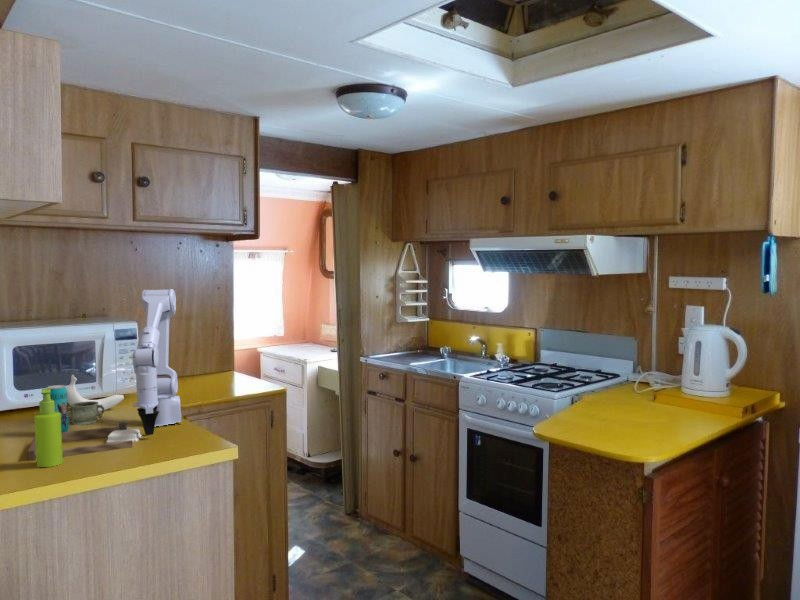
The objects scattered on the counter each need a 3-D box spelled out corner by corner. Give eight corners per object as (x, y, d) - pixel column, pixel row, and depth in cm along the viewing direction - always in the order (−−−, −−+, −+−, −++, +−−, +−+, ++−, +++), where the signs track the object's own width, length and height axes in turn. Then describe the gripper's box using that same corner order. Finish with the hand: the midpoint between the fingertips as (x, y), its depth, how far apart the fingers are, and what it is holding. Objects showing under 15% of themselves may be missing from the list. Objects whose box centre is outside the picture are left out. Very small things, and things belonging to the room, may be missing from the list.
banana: (124, 410, 225) (123, 370, 224) (65, 417, 215) (63, 375, 215) (123, 407, 229) (121, 368, 228) (65, 414, 219) (63, 373, 219)
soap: (104, 445, 179) (104, 435, 179) (111, 438, 186) (111, 429, 186) (137, 442, 181) (137, 433, 181) (143, 436, 188) (142, 427, 188)
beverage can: (59, 437, 188) (57, 388, 188) (43, 436, 189) (41, 388, 189) (73, 432, 194) (71, 384, 193) (57, 431, 195) (55, 384, 194)
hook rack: (129, 432, 192) (129, 421, 192) (132, 447, 175) (132, 434, 175) (35, 443, 181) (34, 432, 181) (28, 460, 164) (27, 447, 164)
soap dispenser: (36, 470, 156) (31, 392, 155) (37, 463, 162) (33, 387, 161) (62, 466, 158) (58, 389, 158) (63, 459, 165) (59, 385, 164)
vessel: (65, 427, 201) (64, 408, 200) (64, 422, 208) (63, 403, 208) (106, 422, 207) (105, 403, 206) (103, 417, 214) (102, 399, 214)
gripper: (131, 385, 189) (133, 429, 190) (133, 393, 176) (135, 440, 177) (155, 383, 193) (157, 426, 193) (159, 390, 179) (161, 436, 180)
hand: (148, 432), depth 185 cm, fingers open, 4 cm apart
